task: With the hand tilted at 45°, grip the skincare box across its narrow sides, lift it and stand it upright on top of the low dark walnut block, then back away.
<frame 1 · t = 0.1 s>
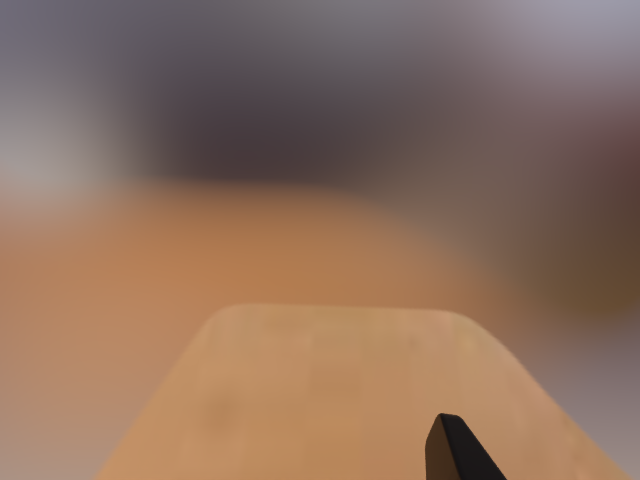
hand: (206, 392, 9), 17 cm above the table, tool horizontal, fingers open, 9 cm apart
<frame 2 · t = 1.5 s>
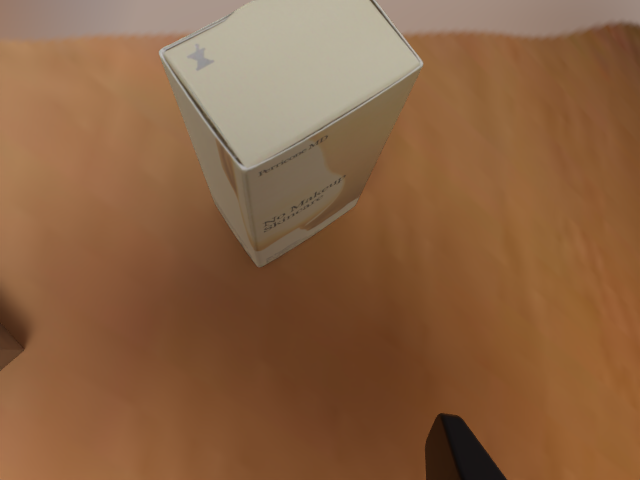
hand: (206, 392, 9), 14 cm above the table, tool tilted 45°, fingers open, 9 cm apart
skincare box: (288, 204, 25), on the table
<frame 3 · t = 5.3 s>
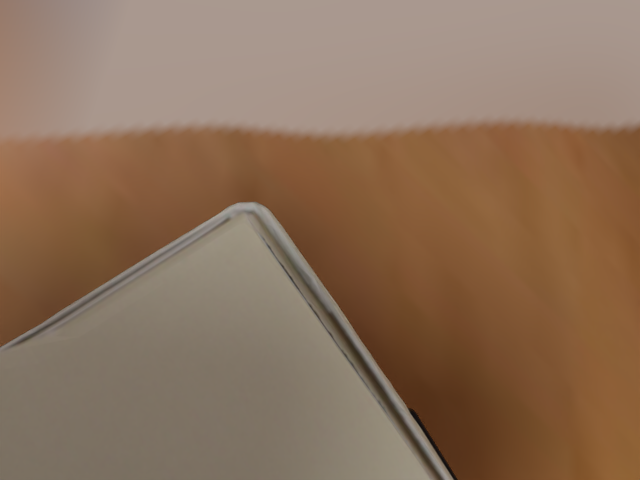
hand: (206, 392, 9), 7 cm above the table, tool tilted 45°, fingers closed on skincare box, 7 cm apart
skincare box: (229, 421, 15), on the table, touching gripper
when the fingers open (11 cm above the table, at t = 11.5 s): skincare box drops 2 cm, resting on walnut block.
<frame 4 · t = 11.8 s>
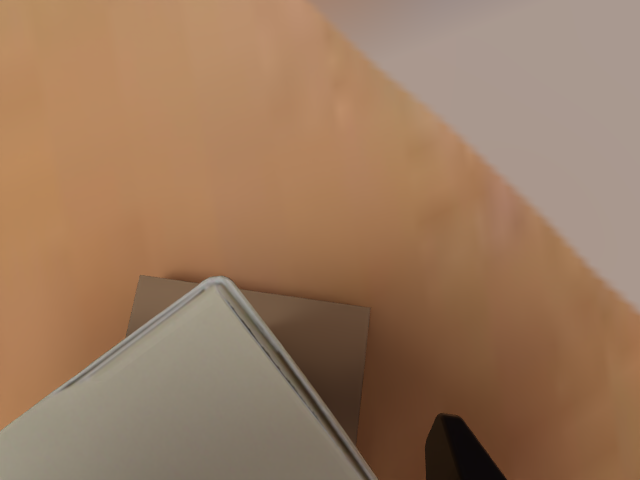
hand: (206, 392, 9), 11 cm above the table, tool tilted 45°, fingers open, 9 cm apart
skincare box: (235, 421, 17), point 2 cm above the table, touching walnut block
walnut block: (243, 404, 20), on the table, touching skincare box
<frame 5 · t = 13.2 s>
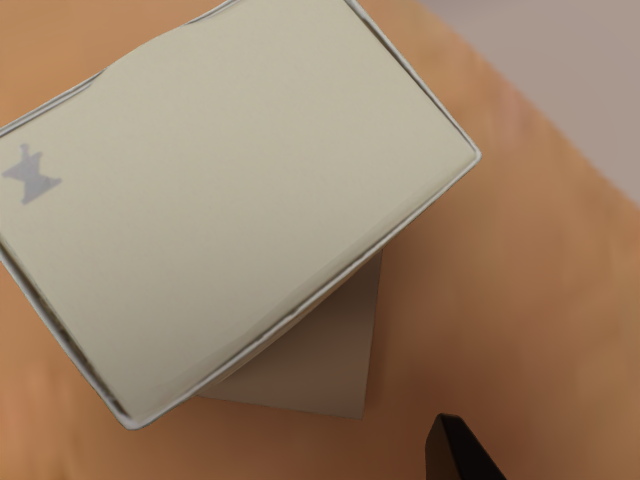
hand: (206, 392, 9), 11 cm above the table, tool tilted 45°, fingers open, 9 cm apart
skincare box: (252, 286, 18), point 2 cm above the table, touching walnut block
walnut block: (264, 290, 21), on the table, touching skincare box
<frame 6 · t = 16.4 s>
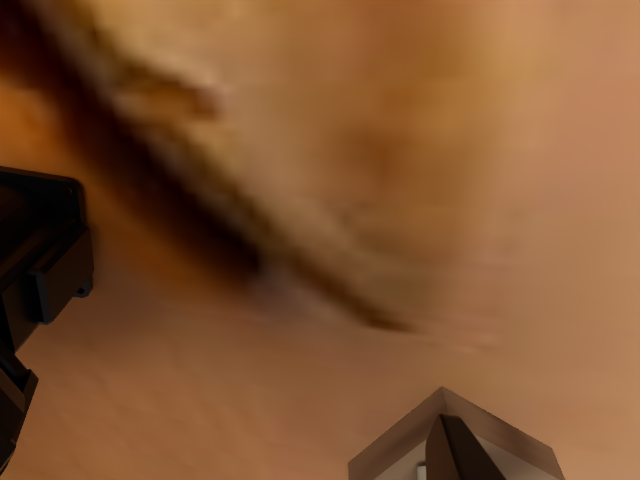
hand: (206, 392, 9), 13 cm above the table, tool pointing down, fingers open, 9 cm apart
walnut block: (445, 446, 31), on the table, touching skincare box
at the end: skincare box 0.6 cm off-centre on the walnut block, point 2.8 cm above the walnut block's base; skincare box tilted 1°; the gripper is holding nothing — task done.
